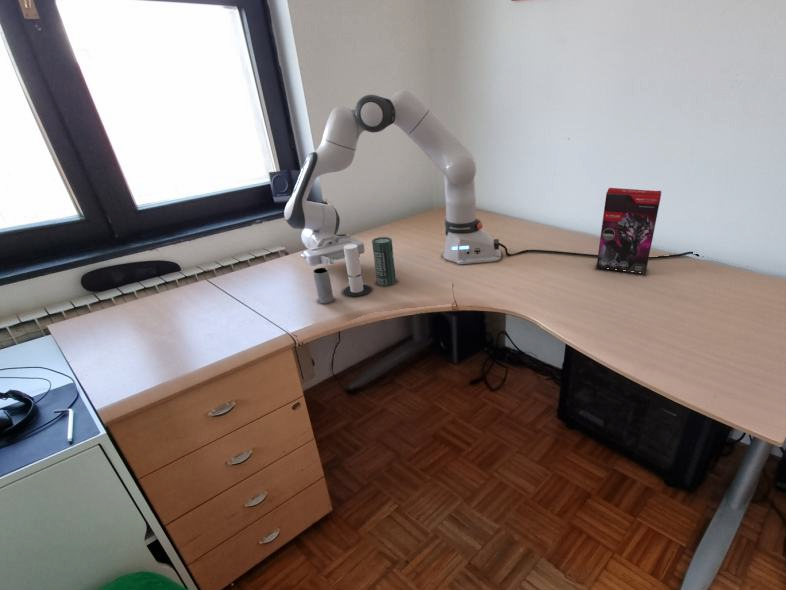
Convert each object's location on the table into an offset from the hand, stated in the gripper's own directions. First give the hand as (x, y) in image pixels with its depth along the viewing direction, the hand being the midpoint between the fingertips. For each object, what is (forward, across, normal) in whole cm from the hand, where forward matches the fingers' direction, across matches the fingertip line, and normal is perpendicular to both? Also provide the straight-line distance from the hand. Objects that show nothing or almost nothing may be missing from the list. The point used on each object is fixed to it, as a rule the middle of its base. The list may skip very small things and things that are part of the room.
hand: (344, 258), depth 151 cm
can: (+6, +11, +10) cm, 16 cm away
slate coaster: (+6, 0, +10) cm, 11 cm away
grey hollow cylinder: (+6, -11, +10) cm, 16 cm away
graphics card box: (+51, +81, +10) cm, 96 cm away
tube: (+6, 0, +9) cm, 11 cm away
